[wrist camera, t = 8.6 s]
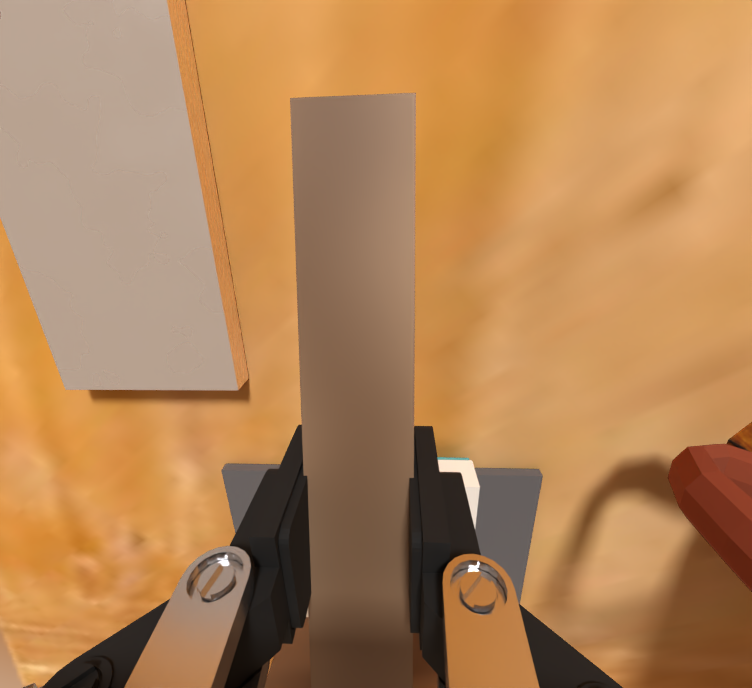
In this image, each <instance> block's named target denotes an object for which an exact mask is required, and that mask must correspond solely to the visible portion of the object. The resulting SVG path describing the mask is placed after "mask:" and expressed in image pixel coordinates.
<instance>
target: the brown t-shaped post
mask: <svg viewBox="0 0 752 688" xmlns="http://www.w3.org/2000/svg"><path fill="white" fill-rule="evenodd" d="M290 105H291V133H292V161H293V190H294V218H295V246H296V275H297V303H298V332H299V360H300V388H301V417H302V445H303V473H304V476H307V479H308V508H309V537H310V566H311V596H310V601H309V606H308V615H309V617H306V619H305V623H304V626H303V628H296V631H295V635H294V639H293V644H282V647H281V650H280V651H279V652H278V653H277V654H276V655H275V656H274V658H273V661H272V664H271V667H270V670H269V673H268V676H267V679H266V683H265V687H264V688H437V673H436V672H435V671H434V670H433V669H432V668H431V666H430V665H429V664H428V663H427V662H426V661H425V660H424V658H423V657H422V650H420V645H419V633H410V610H409V478H414V332H415V132H416V93H400V94H377V95H353V96H329V97H305V98H290Z"/></svg>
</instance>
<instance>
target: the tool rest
mask: <svg viewBox="0 0 752 688" xmlns="http://www.w3.org/2000/svg"><path fill="white" fill-rule="evenodd" d="M0 218H1V220H2V223H3V226H4V228H5V231H6V234H7V236H8V239H9V242H10V244H11V247H12V249H13V252H14V255H15V257H16V260H17V263H18V265H19V268H20V271H21V273H22V276H23V278H24V281H25V284H26V286H27V289H28V292H29V294H30V297H31V300H32V302H33V305H34V307H35V310H36V313H37V315H38V318H39V321H40V323H41V326H42V329H43V331H44V334H45V337H46V339H47V342H48V344H49V347H50V350H51V352H52V355H53V358H54V360H55V363H56V366H57V368H58V371H59V373H60V376H61V379H62V381H63V384H64V387H65V389H66V390H239V389H240V388H241V387H242V385H243V384H244V383H245V382H246V381H247V380H248V378H249V377H248V371H247V365H246V359H245V353H244V347H243V341H242V335H241V329H240V324H239V318H238V312H237V306H236V300H235V294H234V288H233V282H232V276H231V270H230V264H229V258H228V253H227V247H226V241H225V235H224V229H223V223H222V217H221V211H220V205H219V199H218V193H217V187H216V182H215V176H214V170H213V164H212V158H211V152H210V146H209V140H208V134H207V128H206V122H205V116H204V111H203V105H202V99H201V93H200V87H199V81H198V75H197V69H196V63H195V57H194V51H193V45H192V40H191V34H190V28H189V22H188V16H187V10H186V4H185V0H0Z"/></svg>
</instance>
